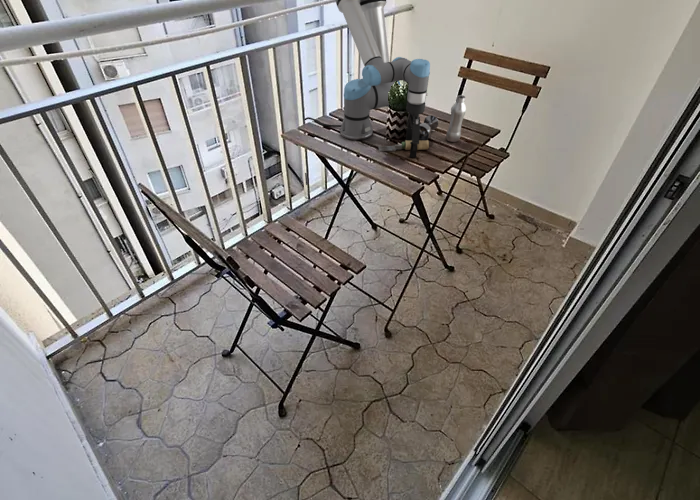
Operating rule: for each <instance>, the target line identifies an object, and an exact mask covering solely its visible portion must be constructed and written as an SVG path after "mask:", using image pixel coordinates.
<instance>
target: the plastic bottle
mask: <svg viewBox="0 0 700 500" xmlns="http://www.w3.org/2000/svg"><path fill="white" fill-rule="evenodd" d="M465 102H466V96H465V95H463V94H462V95H461V94H460V95H457V96H456V97H455V102H454V103H453V104H452V106H451V108H450V120H449V125H448V127H447V131H446V133H445V138H446V140H447V141H448V142H450V143H455V142H458V141H459V140H460V138H461V136H462V125H463V121H464V118H465V115H466V112H467V105H466V104H465Z"/></svg>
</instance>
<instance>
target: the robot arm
mask: <svg viewBox="0 0 700 500" xmlns="http://www.w3.org/2000/svg"><path fill="white" fill-rule="evenodd" d="M335 4H336V7H337V9H338V11H339V12H340V13H341V14H343V18H344V19H345V20H344V21H345V22H346V25H347V27H348V30H349V33H350V35H351V37H352V39H353V42H354V44H355V46H356V49H357V52H358V55H359V57H360V59H361V63H362V64H363V68H362V70H361V76H362V78H355V79H352V80H349V81H348V82H347V83H346V84H345V85H344V89H343V119H342V122H341V124H330V123H329V124H328V123H324V122H321V121H319V120H318V119H315V118H313V117H310V116H307V117H305V118H304V119H303V120H304V121H307V120H310V121H313V122H316V123H318V124H319V125H321V126H324V127H331V128H340V130H339V131H340V136H341V137H342V138H344V139H346V140H350V141H364V140H367V139H370V138H371V137H372V136H373V133H374V129H373V125H372V122H371V118H370V114H371V110H375V109H376V110H377V109H381V108H385V107H387V108H388V107H390V106H389V103H388V92H389V91H390V89H391V86H392V85H393V84H394V82H395V81H397V82H398V84H399V85H400V86H401V87H402V85H401V82H400V81H404V83H405V82H406V83H408V86H407V87H408V88H407V96H406V97H407V98H406V101H407V102H406V107H405V110H406V112H407V113H408V115H407V119H406V134H405V141H412V142H410V144H411V149H410V150H409V158H417V153H418V150H417V146H418V144H419V132H420V124H421V117H420V114H423V113H424V112H425V110H426V101H427V96H428V95H429V93H428V86H429V80H430V75H431V74H430V73H431V71H430V70H431V62H430V61H429V60H427V59H423V58H414V59H413V60H409V59H408V58H406V57H403V56H397V57H395V58H394V59H392V61H390V56H389V46H388V37H387V28H386V27H387V26H386V19H385V11H384V8H385V6H386V5H387V0H335ZM304 177H305V186H308V174H307V172H304Z"/></svg>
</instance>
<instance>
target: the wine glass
mask: <svg viewBox="0 0 700 500" xmlns="http://www.w3.org/2000/svg"><path fill="white" fill-rule="evenodd" d="M438 126H439V119H438V118H437V117H436V116H435V115H432V114H430V115H427V116H425V117H424V120H423V122H420V132H419V140H428V139H429V138H430V137H431V134H432V131H434V130H437V128H438Z"/></svg>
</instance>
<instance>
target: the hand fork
mask: <svg viewBox="0 0 700 500" xmlns="http://www.w3.org/2000/svg"><path fill="white" fill-rule="evenodd" d="M410 142H412V141H406V140H404V141H402V142H401V144H400V143H399V144H398V143H397V144H393V145H384V146H383V145H381V146H380V145H379V146H378V152H396V150H403V149H404V150H405V151H410V149H411V144H410ZM429 148H430V142H429V140H428V139H427V140H419V144H418V146H417V151H429Z"/></svg>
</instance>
